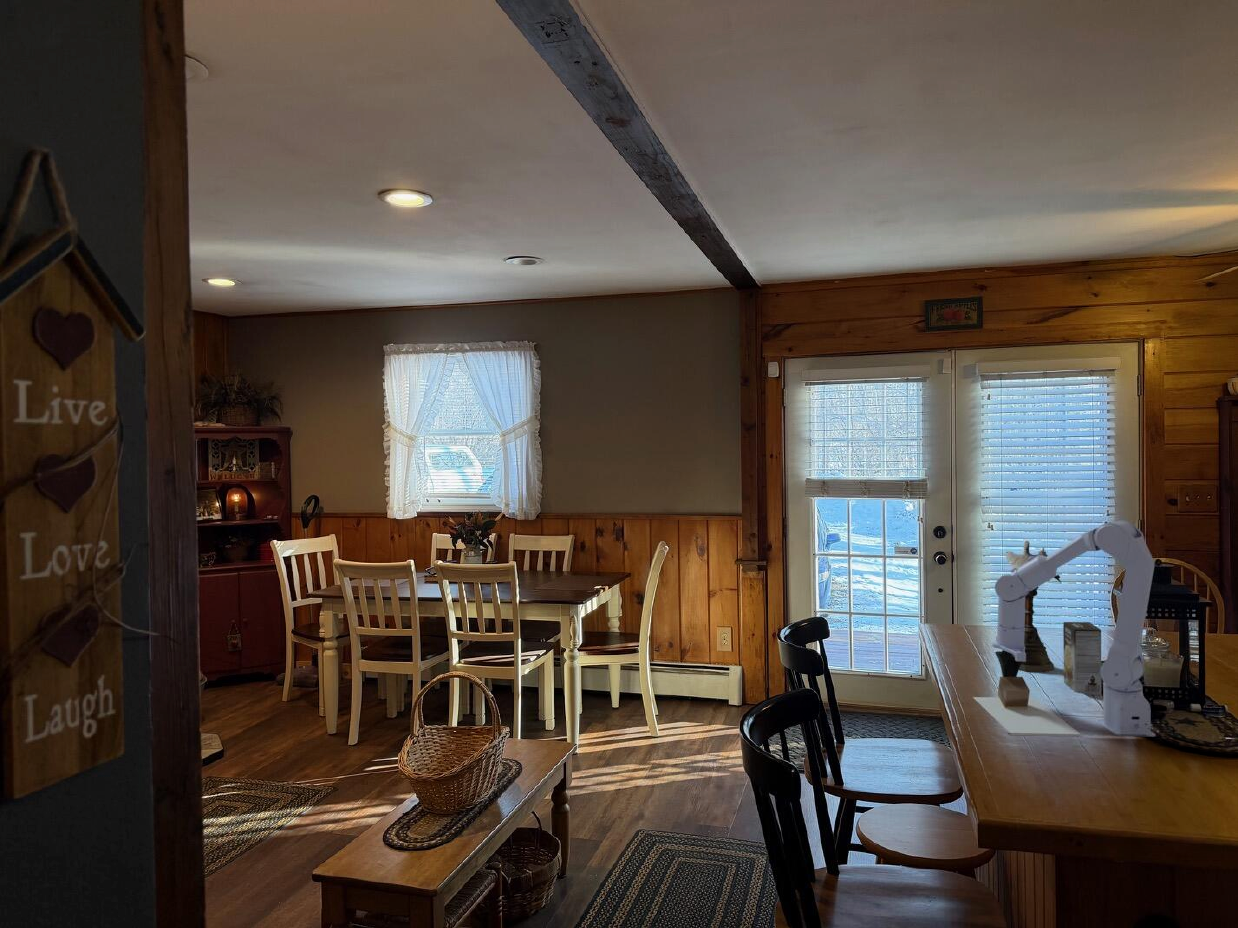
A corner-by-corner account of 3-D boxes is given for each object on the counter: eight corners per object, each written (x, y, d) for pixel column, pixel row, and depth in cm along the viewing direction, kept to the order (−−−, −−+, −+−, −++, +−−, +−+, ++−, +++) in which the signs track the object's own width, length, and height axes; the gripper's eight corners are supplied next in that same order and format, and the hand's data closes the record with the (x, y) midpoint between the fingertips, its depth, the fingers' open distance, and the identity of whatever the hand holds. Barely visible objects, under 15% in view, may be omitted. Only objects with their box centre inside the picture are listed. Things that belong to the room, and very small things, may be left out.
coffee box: (1062, 684, 215) (1062, 621, 215) (1090, 685, 214) (1089, 621, 214) (1074, 694, 206) (1073, 628, 206) (1103, 695, 205) (1102, 629, 205)
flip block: (1027, 708, 194) (1029, 690, 192) (1004, 708, 195) (1006, 690, 193) (1019, 694, 199) (1022, 676, 197) (997, 694, 199) (999, 676, 197)
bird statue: (1071, 677, 221) (1069, 543, 221) (1017, 675, 224) (1015, 543, 223) (1052, 662, 237) (1050, 537, 237) (1002, 660, 240) (1000, 537, 240)
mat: (1080, 736, 176) (1080, 733, 176) (1010, 735, 178) (1010, 732, 178) (1034, 700, 202) (1034, 697, 202) (972, 699, 204) (972, 697, 204)
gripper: (983, 617, 204) (981, 673, 205) (1003, 632, 190) (1001, 692, 191) (1014, 618, 204) (1012, 674, 204) (1036, 634, 189) (1034, 693, 190)
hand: (1009, 683), depth 197 cm, fingers closed, pressing on flip block
